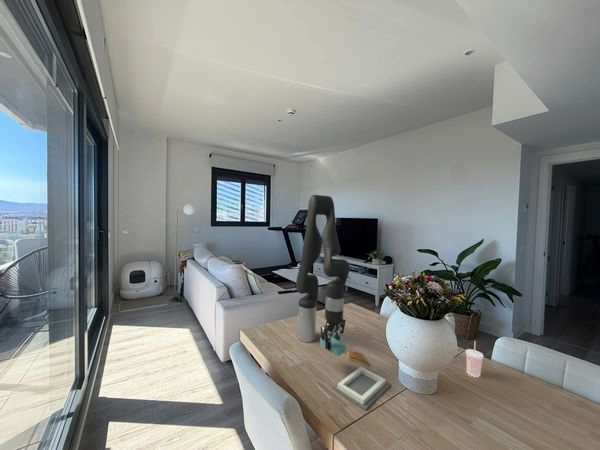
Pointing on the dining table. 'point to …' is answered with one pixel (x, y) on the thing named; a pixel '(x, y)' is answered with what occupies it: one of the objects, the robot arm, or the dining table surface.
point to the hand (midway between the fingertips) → (332, 346)
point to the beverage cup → (474, 361)
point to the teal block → (335, 346)
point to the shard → (358, 357)
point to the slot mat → (362, 387)
